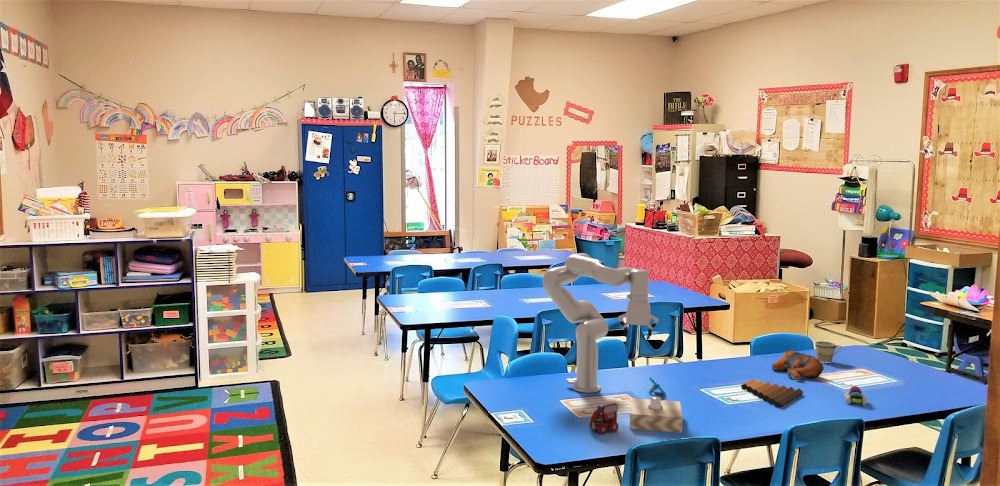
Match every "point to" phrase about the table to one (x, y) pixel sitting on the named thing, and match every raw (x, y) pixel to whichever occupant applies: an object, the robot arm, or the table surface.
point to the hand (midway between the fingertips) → (637, 337)
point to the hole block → (655, 416)
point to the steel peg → (655, 403)
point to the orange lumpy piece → (798, 365)
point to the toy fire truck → (604, 418)
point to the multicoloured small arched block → (855, 396)
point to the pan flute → (772, 392)
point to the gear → (655, 387)
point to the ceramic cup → (825, 351)
